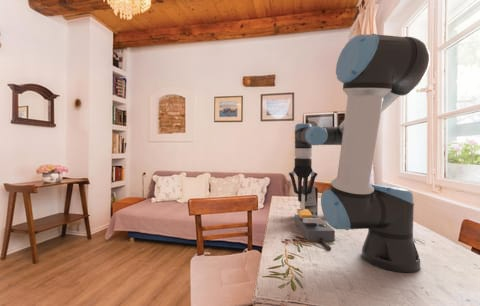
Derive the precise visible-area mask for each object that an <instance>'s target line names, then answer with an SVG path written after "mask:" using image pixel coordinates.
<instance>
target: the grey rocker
mask: <svg viewBox="0 0 480 306" xmlns="http://www.w3.org/2000/svg"><path fill="white" fill-rule="evenodd" d="M303 222H305V223H321V222H320V219H317V218H303Z"/></svg>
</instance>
